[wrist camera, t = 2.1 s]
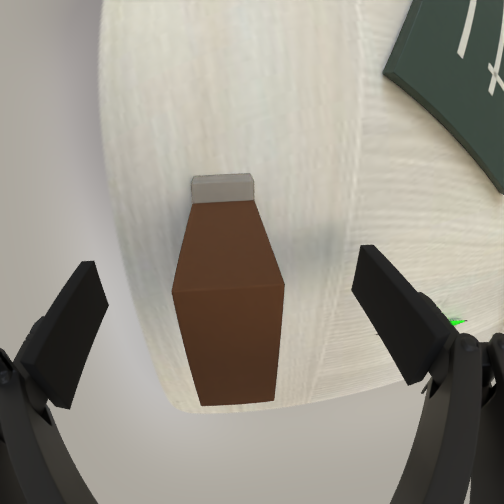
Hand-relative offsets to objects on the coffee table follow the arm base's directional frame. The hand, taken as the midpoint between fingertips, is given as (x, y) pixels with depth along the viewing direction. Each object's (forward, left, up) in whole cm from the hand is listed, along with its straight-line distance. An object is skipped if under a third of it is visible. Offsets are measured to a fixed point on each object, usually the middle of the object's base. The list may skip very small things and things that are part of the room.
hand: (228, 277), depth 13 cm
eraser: (0, 0, -4) cm, 4 cm away
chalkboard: (-26, +12, -4) cm, 29 cm away
